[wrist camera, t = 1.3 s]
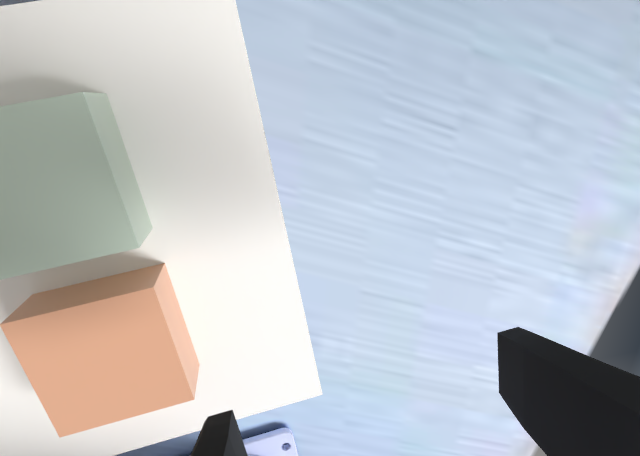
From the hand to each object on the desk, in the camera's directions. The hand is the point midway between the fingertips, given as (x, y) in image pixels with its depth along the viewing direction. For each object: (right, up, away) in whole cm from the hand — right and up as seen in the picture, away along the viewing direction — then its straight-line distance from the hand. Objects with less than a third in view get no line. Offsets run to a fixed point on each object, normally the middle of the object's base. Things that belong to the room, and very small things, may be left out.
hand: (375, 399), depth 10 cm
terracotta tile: (-10, 0, +6) cm, 11 cm away
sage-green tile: (-11, +6, +4) cm, 13 cm away
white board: (-11, +3, +7) cm, 13 cm away
